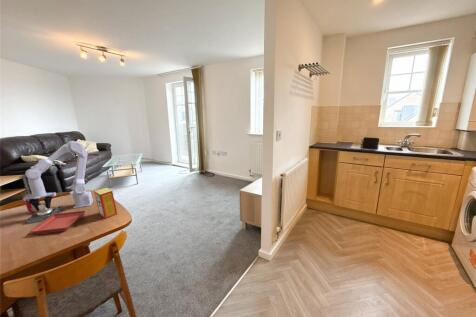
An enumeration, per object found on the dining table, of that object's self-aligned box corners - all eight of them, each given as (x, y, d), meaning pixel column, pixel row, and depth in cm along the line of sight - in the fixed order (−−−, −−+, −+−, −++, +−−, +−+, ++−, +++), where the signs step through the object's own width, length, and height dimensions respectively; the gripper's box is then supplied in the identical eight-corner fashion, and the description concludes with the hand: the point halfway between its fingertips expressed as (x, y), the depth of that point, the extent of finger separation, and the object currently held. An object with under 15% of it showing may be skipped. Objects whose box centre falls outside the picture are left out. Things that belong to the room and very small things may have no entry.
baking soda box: (99, 214, 121) (94, 190, 117) (111, 209, 126) (106, 187, 122) (105, 219, 115) (99, 194, 111) (117, 214, 120) (112, 190, 116)
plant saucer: (29, 237, 101) (27, 231, 100) (55, 218, 118) (53, 213, 118) (68, 232, 104) (66, 227, 103) (87, 215, 121) (86, 210, 120)
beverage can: (44, 209, 130) (39, 192, 127) (34, 214, 124) (28, 197, 121) (36, 209, 130) (31, 192, 127) (25, 214, 124) (20, 196, 121)
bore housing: (62, 209, 128) (61, 205, 127) (53, 219, 117) (52, 214, 117) (39, 213, 124) (37, 209, 123) (27, 223, 113) (26, 219, 112)
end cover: (55, 210, 124) (52, 200, 123) (49, 215, 118) (46, 205, 116) (41, 212, 122) (38, 202, 121) (34, 217, 116) (31, 207, 114)
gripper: (17, 193, 110) (24, 214, 113) (49, 188, 115) (55, 209, 118) (24, 188, 116) (31, 209, 119) (55, 184, 121) (60, 204, 125)
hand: (44, 208), depth 119 cm, fingers closed on end cover, 4 cm apart
